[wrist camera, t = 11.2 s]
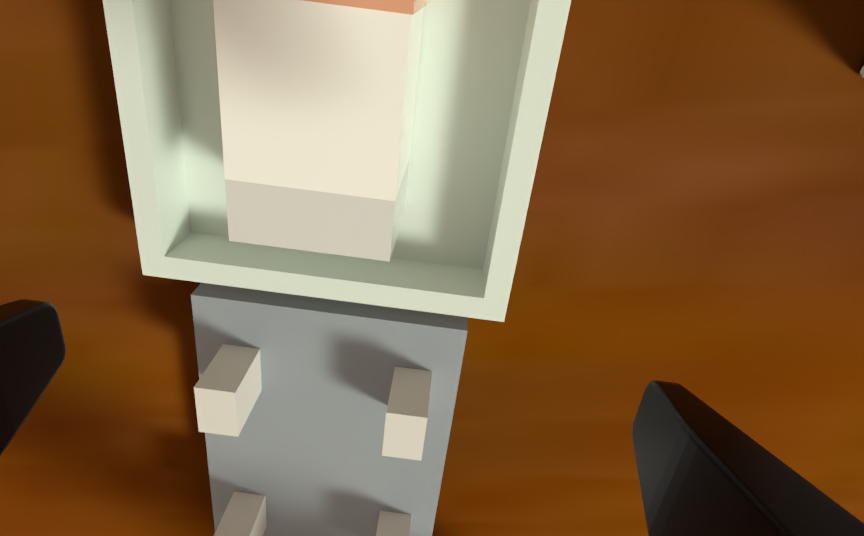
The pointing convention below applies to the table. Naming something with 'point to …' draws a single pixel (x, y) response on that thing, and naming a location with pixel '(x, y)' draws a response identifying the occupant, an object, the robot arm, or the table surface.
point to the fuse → (317, 120)
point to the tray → (428, 166)
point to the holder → (323, 412)
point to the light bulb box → (862, 71)
